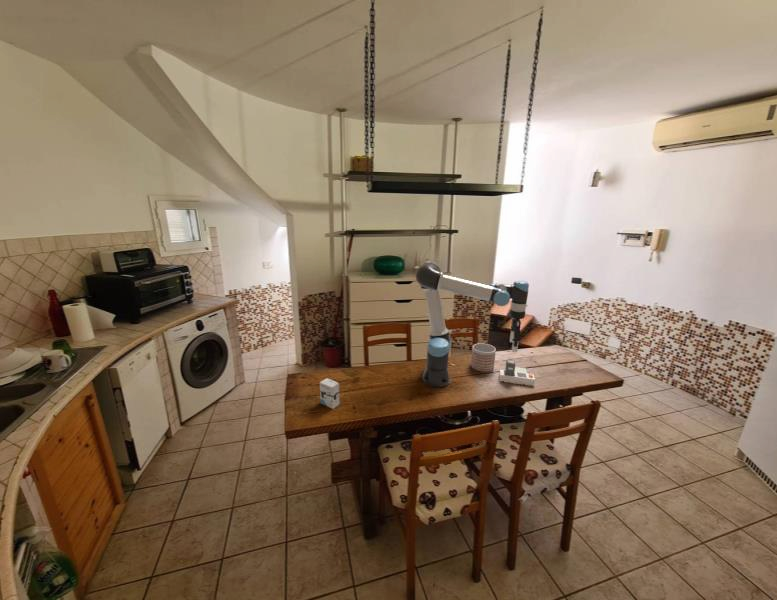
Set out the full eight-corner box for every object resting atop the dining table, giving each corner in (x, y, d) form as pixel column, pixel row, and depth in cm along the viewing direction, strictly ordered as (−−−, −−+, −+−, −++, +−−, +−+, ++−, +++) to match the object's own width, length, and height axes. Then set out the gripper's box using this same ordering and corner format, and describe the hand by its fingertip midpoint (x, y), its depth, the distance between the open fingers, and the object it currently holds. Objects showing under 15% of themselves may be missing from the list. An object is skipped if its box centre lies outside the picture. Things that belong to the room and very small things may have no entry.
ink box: (320, 403, 159) (319, 382, 156) (327, 398, 163) (326, 377, 160) (332, 409, 155) (332, 387, 152) (339, 404, 159) (339, 383, 156)
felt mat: (511, 374, 191) (511, 373, 191) (509, 367, 200) (510, 366, 200) (527, 376, 189) (527, 375, 189) (525, 369, 197) (525, 368, 197)
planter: (473, 360, 208) (474, 341, 205) (495, 364, 203) (497, 345, 199) (468, 369, 197) (470, 349, 193) (491, 374, 191) (494, 354, 187)
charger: (505, 377, 183) (507, 363, 180) (504, 374, 187) (506, 359, 184) (513, 378, 182) (515, 364, 179) (512, 375, 186) (514, 360, 183)
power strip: (499, 381, 183) (500, 373, 182) (499, 375, 189) (499, 368, 188) (534, 386, 179) (535, 378, 177) (532, 380, 185) (533, 372, 183)
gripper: (528, 317, 161) (523, 357, 167) (522, 304, 184) (517, 339, 190) (512, 316, 163) (507, 355, 169) (508, 303, 186) (504, 337, 192)
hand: (513, 346), depth 179 cm, fingers open, 13 cm apart
